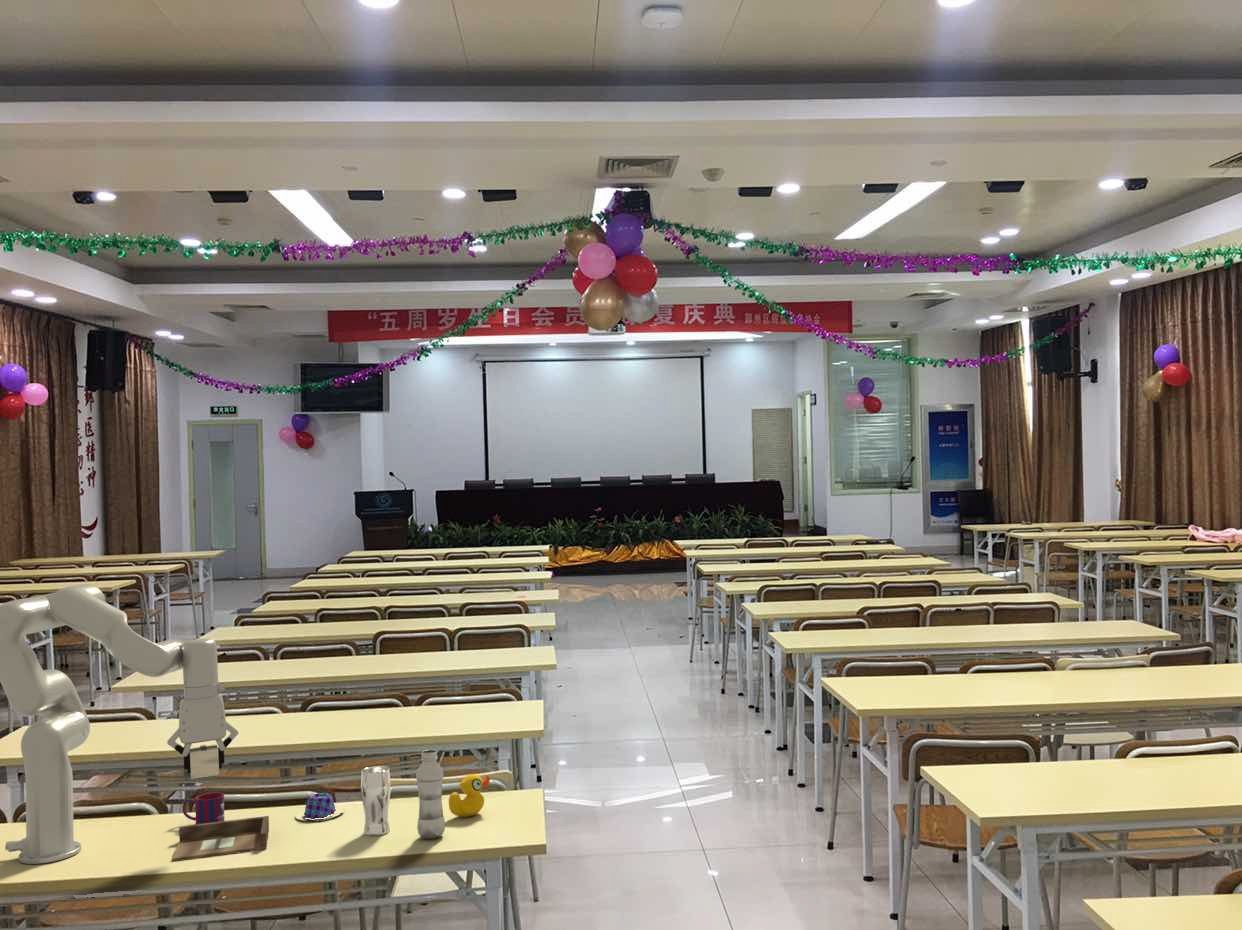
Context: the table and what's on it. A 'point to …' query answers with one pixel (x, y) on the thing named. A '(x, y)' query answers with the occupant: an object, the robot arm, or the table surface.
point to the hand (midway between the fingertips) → (204, 769)
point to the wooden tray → (222, 838)
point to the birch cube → (204, 761)
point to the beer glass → (376, 799)
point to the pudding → (319, 806)
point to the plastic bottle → (430, 796)
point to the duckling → (469, 796)
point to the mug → (207, 808)
